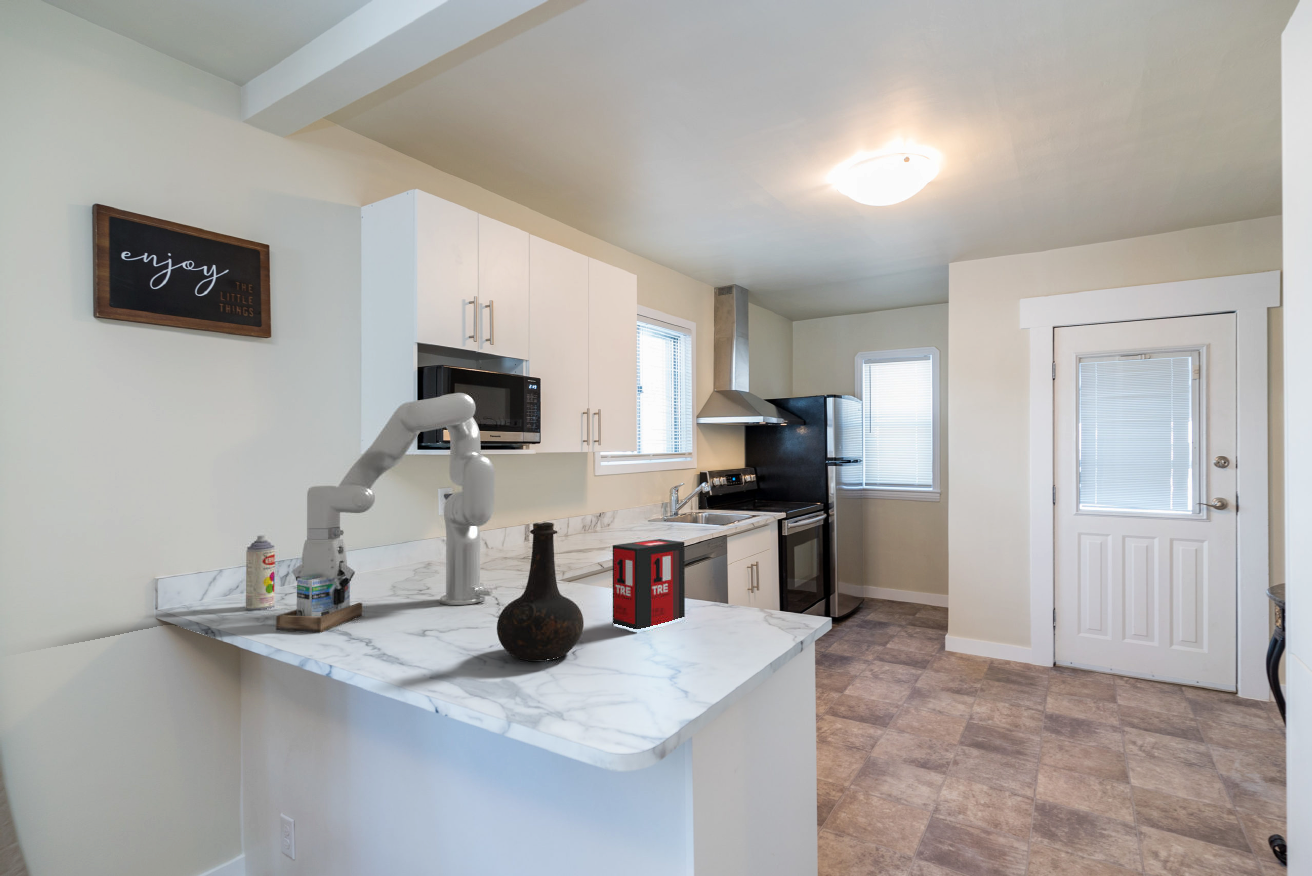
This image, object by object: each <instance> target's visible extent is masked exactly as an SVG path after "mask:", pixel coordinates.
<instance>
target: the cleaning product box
mask: <svg viewBox="0 0 1312 876" xmlns="http://www.w3.org/2000/svg"><path fill="white" fill-rule="evenodd" d="M685 558H686V557H685V542H684V541H679V540H671V539H663V538H656V539H650V540H649V539H648V540H643V541H641V540H640V541H635V542H627V543H626V542H625V543H619V544H618V543H617V544H613V545H612V624H613V623H614V624H618V625H622V626H626V627H629V628H633V629H641V628H646V627H650V626H653V625H658V624H661V623H665V622H669V621H672V620H675V619H678V618H682V617H686V615H685V614H686V607H685V606H686V604H685V603H686V602H685V601H686V600H685V599H686V598H685V594H686V593H685V592H686V591H685V590H686V589H685V588H686V587H685V586H686V585H685V584H686V583H685V580H686V579H685V577H686V576H685V575H686V574H685Z"/></svg>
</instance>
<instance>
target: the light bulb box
mask: <svg viewBox="0 0 1312 876" xmlns="http://www.w3.org/2000/svg"><path fill="white" fill-rule="evenodd" d="M342 576H343V578H345V576H344V575H342ZM338 580H339V579H338ZM350 585H351V581H350V582H349V583H348V584H347V586H346V587H345V599H344V603H341V604H339V605H334V589H336V587H335V585H334V583H333V582H332V580H328V579H327V578H322V577H300V578H297V581H296V609H297V616H314V617H321V616H323V615H326V614H329V613H332V612H334V611H337V610H340V609H343V608H345V607H348V606H351V605H350V603H351V602H350V601H351V598H350V597H351V596H350V594H351V593H350V592H351V591H350V589H351V588H350V587H351V586H350Z"/></svg>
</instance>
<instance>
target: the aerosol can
mask: <svg viewBox="0 0 1312 876" xmlns="http://www.w3.org/2000/svg"><path fill="white" fill-rule="evenodd" d="M246 548H247V549H246V553H245V556H246V558H245V559H246V560H245V561H246V562H245V564H246V565H245V568H246V570H245V610H246V611H248V610H258V611H262V610H261V609H265V610H268V609H267V608H270V609H272V608H271V607H273V608H274V607H275V586H276V585H275V580H276V579H275V578H276V577H275V575H276V574H275V572H276V571H275V569H276V561H275V560H276V548H275V545H273V544H272V543H271V542H270V541H268V540H267V539H266V538H265V535H264V534H263V535H262V534H259V535H257V538H256V539H255V540H254V542H251V544H250V546H247V547H246Z"/></svg>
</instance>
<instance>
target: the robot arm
mask: <svg viewBox="0 0 1312 876" xmlns="http://www.w3.org/2000/svg"><path fill="white" fill-rule="evenodd" d="M476 408H477V407H476V402H475V401H474V399H473V398H472V397H471V396H470V395H468V394H467V393H464V392H455V393H448V394H443V395H440V396H437V397H432V398H425V399H420V400H414V401H407V402H405V403H402V404H400V405H399V406H398V407H397V408H396V410H395V411H394V412H393V414H392V415H391V417H390V418H389V419H388V421H387V423H386V424H385V425H384V427H383V428H382V429H381V431H380V432H379V433H378V436H376V438H375V439H374V441H373V442H372V443H371V445H370V446H369V447H368V448H367V449H366V450H365V451H364V453H363V454H362V455H361V456H360V457H359V458H358V459H357V460H356V461H355V463H354V464H353V465H351V466H352V467H350V469H349V470H348V471H347V473H346V474H345V475H344V477H343V479H342V480H341V481H340V483H339V485H338V486H336V485H316V486H311V487H309V488H308V490H307V494H306V540H304V544H303V549H302V554H301V555H302V556H301V564H300V565H298V566H297V567H295V568H294V569H292V571H291V573H292V574H293V576H294V578H295V581H296V582H297V578H300V577H322V578H327V579H328V580H332V582H333V583H334V585H335V587H336V589H334V605H339V604H341V603H344V599H345V587H346V586H347V584H348V583H349V582H350V583H351V581H352V579H353V577H354V575H355V573H356V570H354V569H353V568H351V567H350V566H349V565H348V562H347V559H348V558H347V550H346V547H345V542H344V539H343V538H341V536H344V530H343V529H341V513H346V514H347V513H348V514H362V513H363V514H364V513H365V512H368V511H369V510H370V509H371V508H372V507H373V506H374V503H375V500H376V496H375V492H374V491H373V489H371V488H372V487H373V485H374V484H375V483H376V481H377V480H378V479H380V478H381V476H382V475H383V474H384V473H386V472H387V471H389V470H391V469H392V468H394V467H395V466H397V465H398V464H399V463H400V462H401V461H402V460H403V458H404V457H405V456H406V454H407V452H408V451H409V449H410V447H412V445H413V443H414V441H415V440H416V439H417V438H418V435H419V434H420V433H421V432H428V431H434V430H439V429H442V428H443V429H444V428H446V430H447V432H448V434H449V440H450V441H449V442H450V450H449V452H450V453H449V469H448V470H449V478H450V480H451V482H452V483H453V484H455V485H456V486H458V487H461V491H457V492H454V493H452V494H450V496H448V498H447V499H446V500H445V502H444V505H443V519H444V524H445V535H446V536H445V537H446V538H445V540H446V541H445V544H446V545H445V594H444V595H442V596H441V597H440V598H439V599H440V600H439V601H440V603H441V604H442V605H443V604H444V605H450V606H465V605H473V604H478V603H481V602H484V601H485V600H486V596H487V597H492V595H493V589H492V588H491V587H488V588H487V587H486V588H485V587H484V583H481V532H480V527H482V526H484V525H486V524H487V523H488V522H489V521H491V518H492V517H493V513H494V509H495V494H496V493H495V487H496V472H495V467H494V465H493V463H492V461H491V459H489V458H488V457H487V456H485V455H482V454H481V453H482V452H481V451H482V449H481V446H482V445H481V432H480V429H479V426H478V423H477V421H476V420H475V418H474V415H475V414H476ZM342 575H344V576H345V578H343V576H342ZM338 579H339V580H338Z"/></svg>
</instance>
